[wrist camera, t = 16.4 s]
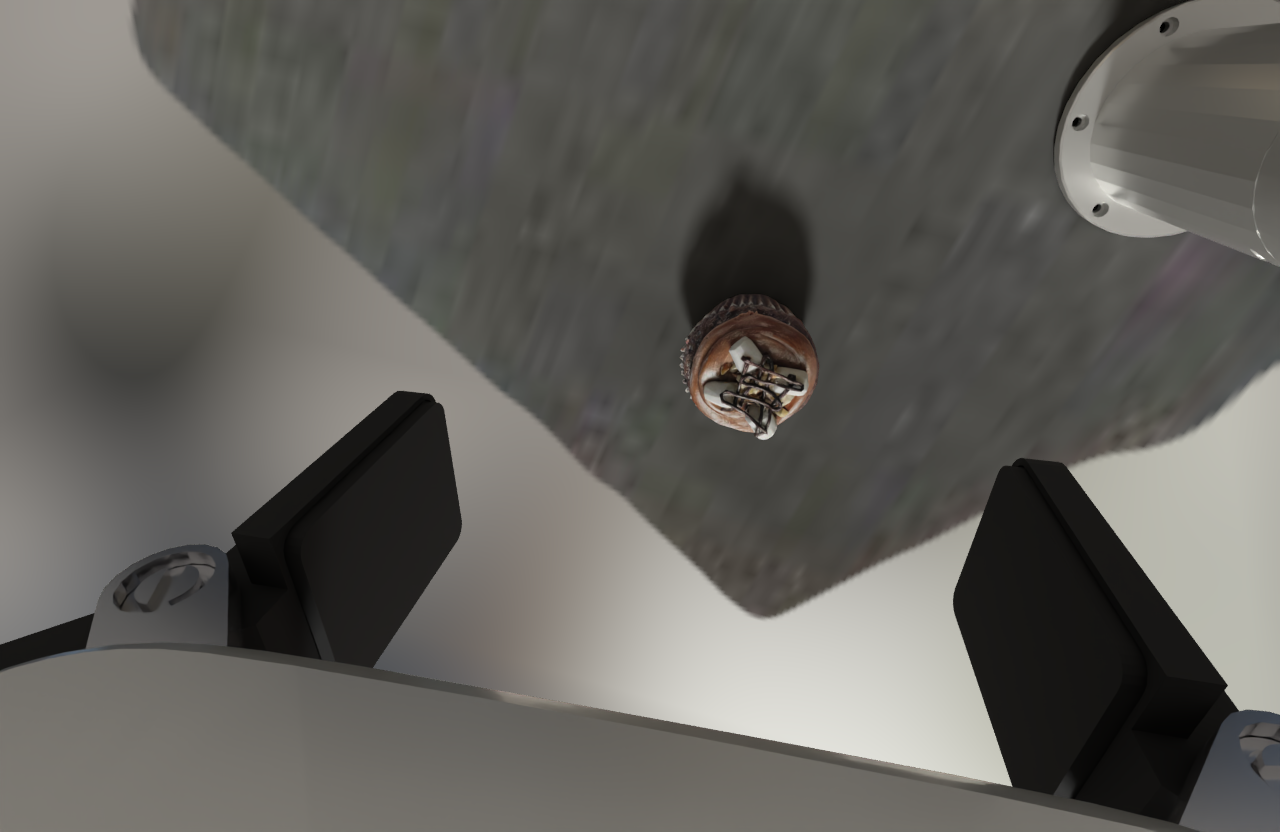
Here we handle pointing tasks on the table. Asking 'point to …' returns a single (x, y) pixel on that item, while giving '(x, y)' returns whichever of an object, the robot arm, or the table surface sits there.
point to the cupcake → (750, 364)
